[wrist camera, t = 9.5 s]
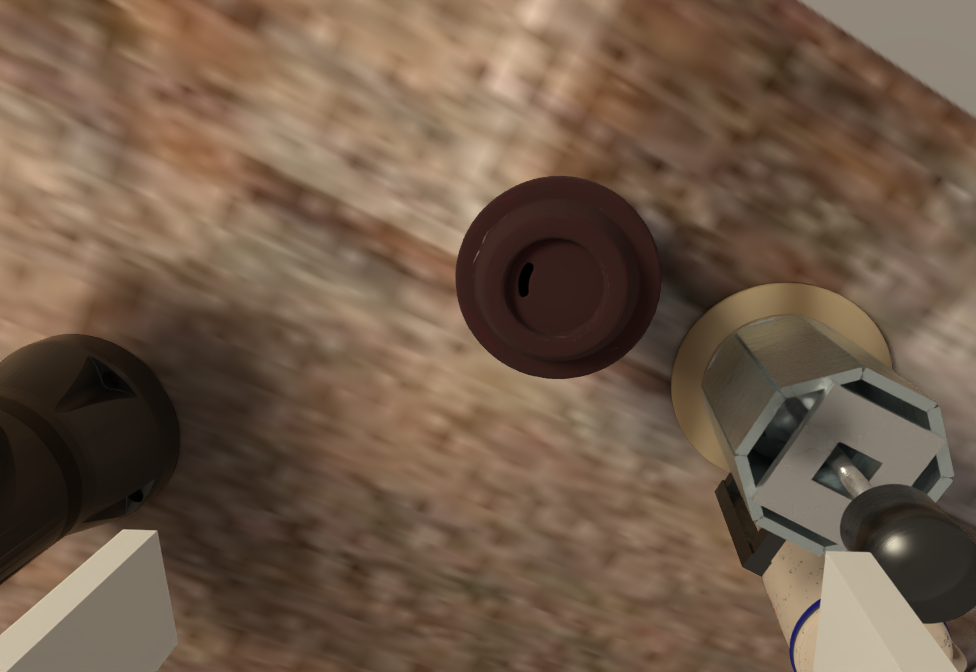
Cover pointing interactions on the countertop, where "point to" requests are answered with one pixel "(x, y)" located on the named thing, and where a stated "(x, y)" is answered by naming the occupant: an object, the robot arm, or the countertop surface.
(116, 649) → the robot arm
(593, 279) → the coffee cup
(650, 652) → the countertop surface
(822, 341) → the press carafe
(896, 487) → the plunger
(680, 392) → the cork trivet
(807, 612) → the teacup with lid
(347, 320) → the countertop surface
